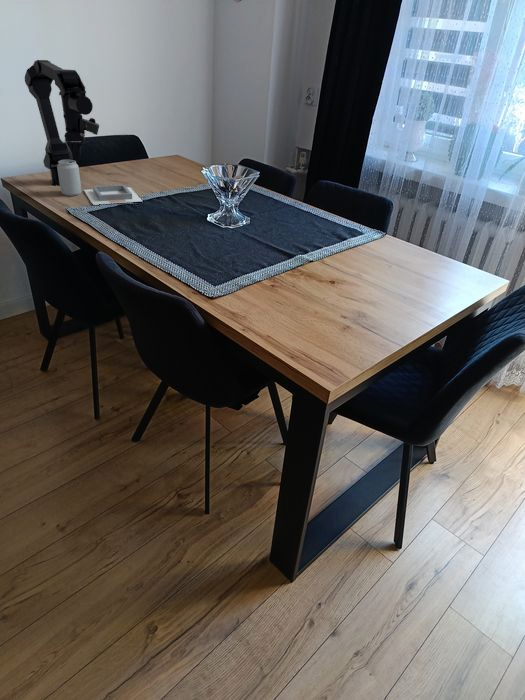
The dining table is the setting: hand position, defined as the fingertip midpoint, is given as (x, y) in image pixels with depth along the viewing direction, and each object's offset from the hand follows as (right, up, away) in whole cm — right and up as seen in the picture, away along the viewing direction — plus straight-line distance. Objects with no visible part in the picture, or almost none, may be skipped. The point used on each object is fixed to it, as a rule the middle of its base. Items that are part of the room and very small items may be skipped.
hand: (78, 158), depth 180 cm
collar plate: (+9, -11, +10) cm, 18 cm away
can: (-6, -10, +9) cm, 15 cm away
